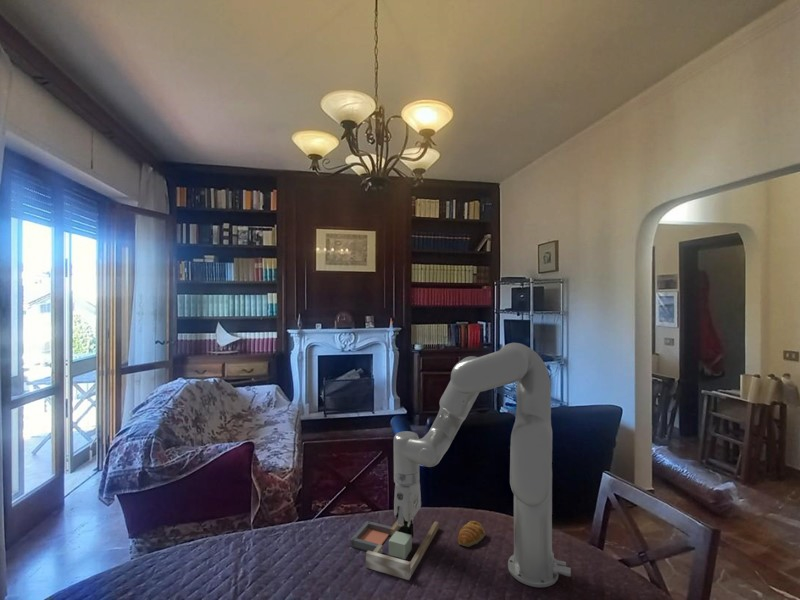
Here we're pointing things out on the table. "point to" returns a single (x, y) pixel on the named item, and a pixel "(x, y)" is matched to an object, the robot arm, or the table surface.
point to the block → (400, 544)
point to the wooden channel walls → (394, 564)
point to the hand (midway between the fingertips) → (407, 537)
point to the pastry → (471, 534)
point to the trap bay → (370, 536)
